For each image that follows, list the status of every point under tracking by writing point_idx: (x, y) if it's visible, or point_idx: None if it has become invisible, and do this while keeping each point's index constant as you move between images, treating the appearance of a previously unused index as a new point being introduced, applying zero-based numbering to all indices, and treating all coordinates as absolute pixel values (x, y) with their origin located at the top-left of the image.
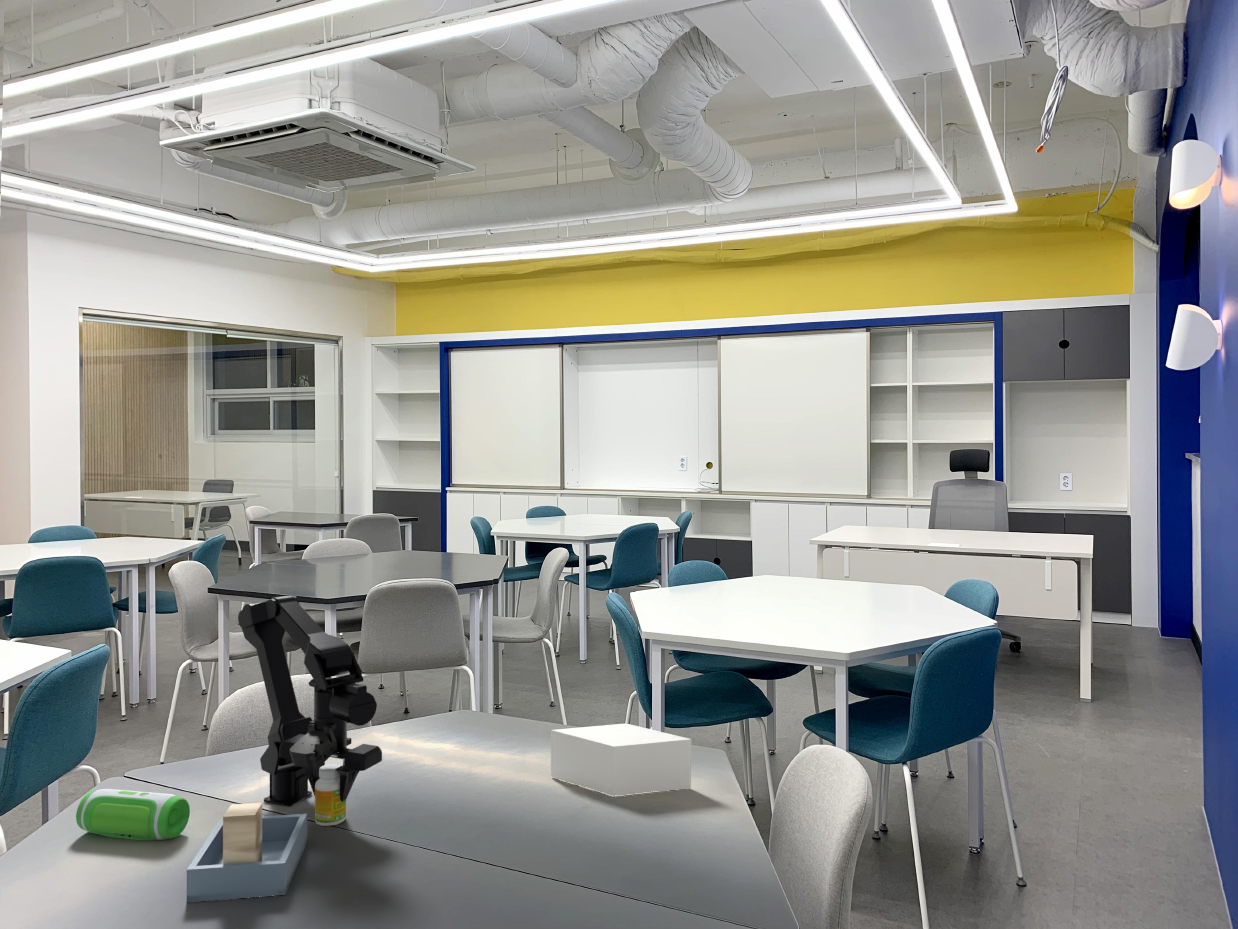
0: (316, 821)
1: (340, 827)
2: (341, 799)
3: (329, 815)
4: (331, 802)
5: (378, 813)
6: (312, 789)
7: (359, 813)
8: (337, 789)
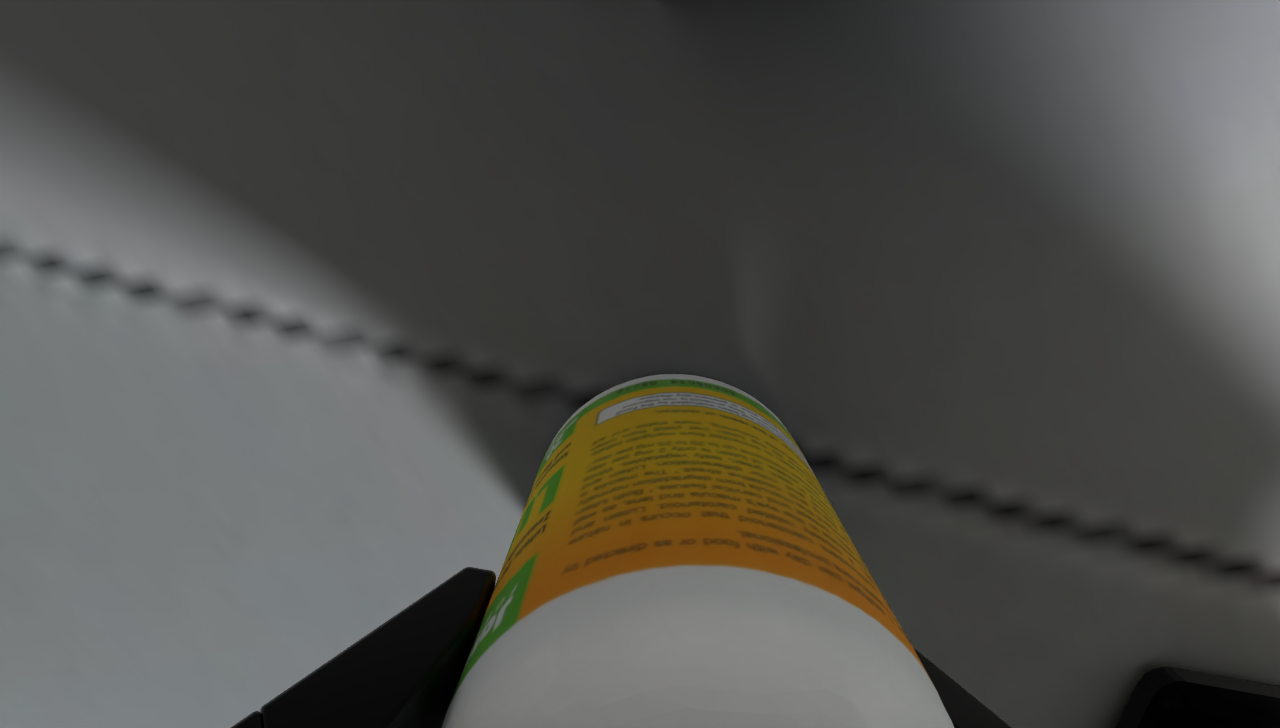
0: (760, 405)
1: (511, 386)
2: (471, 581)
3: (611, 419)
4: (575, 494)
5: None
6: (986, 712)
7: None
8: (475, 670)
